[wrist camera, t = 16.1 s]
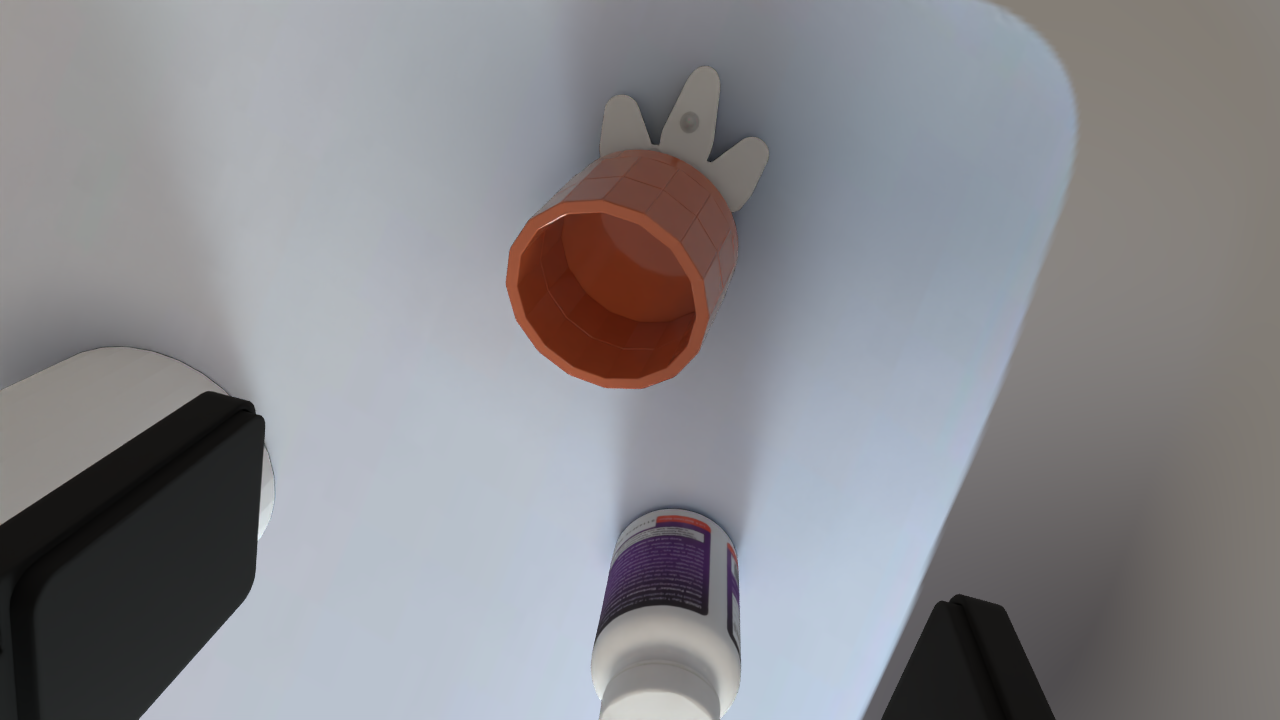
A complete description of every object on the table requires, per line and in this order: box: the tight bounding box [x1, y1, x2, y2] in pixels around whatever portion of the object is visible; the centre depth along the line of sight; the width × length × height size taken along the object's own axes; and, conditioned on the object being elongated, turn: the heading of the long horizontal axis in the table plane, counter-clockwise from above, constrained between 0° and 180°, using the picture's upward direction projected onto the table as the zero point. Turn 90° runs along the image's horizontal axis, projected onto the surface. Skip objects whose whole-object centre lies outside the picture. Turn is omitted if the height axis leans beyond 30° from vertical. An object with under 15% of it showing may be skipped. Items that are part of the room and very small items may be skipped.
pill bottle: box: [591, 509, 741, 720], centre depth 31 cm, size 5×5×10 cm
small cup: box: [506, 149, 738, 389], centre depth 27 cm, size 6×6×4 cm
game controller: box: [599, 66, 769, 213], centre depth 29 cm, size 6×12×3 cm, turn 2°
